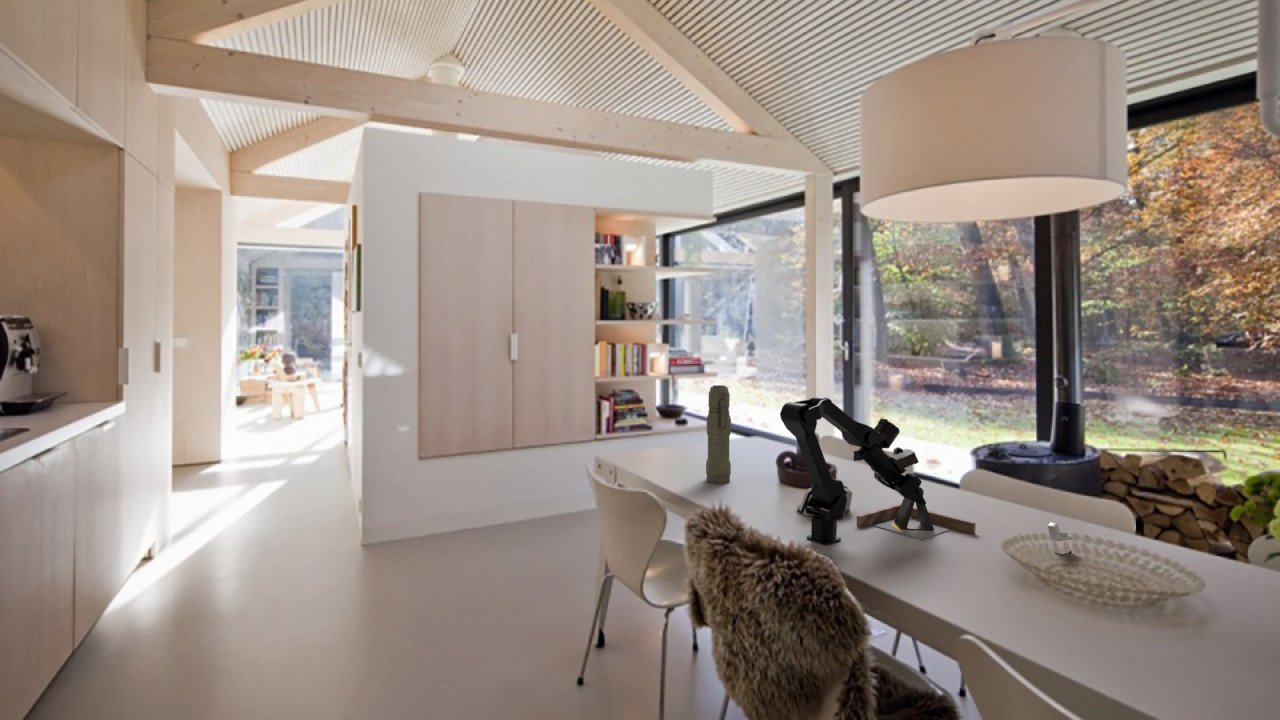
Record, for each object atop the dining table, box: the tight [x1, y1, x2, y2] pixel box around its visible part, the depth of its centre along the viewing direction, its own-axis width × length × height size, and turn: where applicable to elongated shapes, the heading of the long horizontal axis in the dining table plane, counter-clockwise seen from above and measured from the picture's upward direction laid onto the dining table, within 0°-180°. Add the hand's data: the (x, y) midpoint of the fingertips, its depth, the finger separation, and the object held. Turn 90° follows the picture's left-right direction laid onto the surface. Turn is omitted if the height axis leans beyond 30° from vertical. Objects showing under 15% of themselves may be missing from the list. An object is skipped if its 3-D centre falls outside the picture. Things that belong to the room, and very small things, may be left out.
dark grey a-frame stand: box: [894, 486, 934, 531], centre depth 174 cm, size 9×6×12 cm, turn 82°
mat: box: [874, 518, 951, 541], centre depth 174 cm, size 14×14×1 cm
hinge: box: [796, 484, 853, 516], centre depth 190 cm, size 17×5×10 cm, turn 112°
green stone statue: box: [705, 384, 732, 484], centre depth 228 cm, size 9×12×35 cm
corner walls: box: [856, 503, 977, 535], centre depth 173 cm, size 21×23×3 cm
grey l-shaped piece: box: [1047, 522, 1073, 541], centre depth 155 cm, size 7×2×8 cm, turn 113°
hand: (916, 499), depth 174 cm, fingers open, 9 cm apart
